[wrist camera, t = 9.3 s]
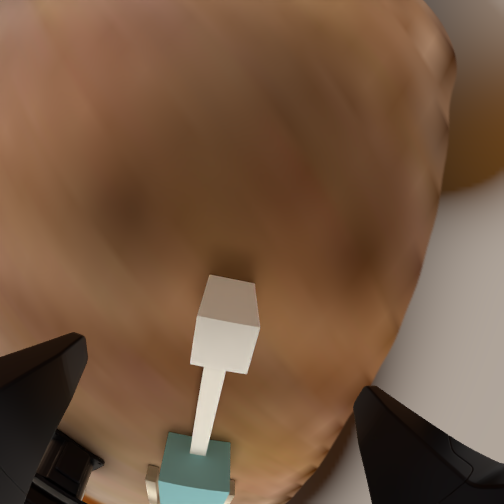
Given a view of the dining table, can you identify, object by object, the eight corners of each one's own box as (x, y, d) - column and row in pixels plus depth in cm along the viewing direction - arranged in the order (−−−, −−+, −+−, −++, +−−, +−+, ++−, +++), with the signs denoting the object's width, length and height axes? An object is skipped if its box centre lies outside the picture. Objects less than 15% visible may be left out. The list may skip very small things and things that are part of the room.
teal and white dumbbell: (219, 472, 20) (218, 513, 15) (167, 463, 19) (160, 504, 14) (278, 288, 15) (295, 339, 10) (185, 269, 14) (160, 314, 9)
